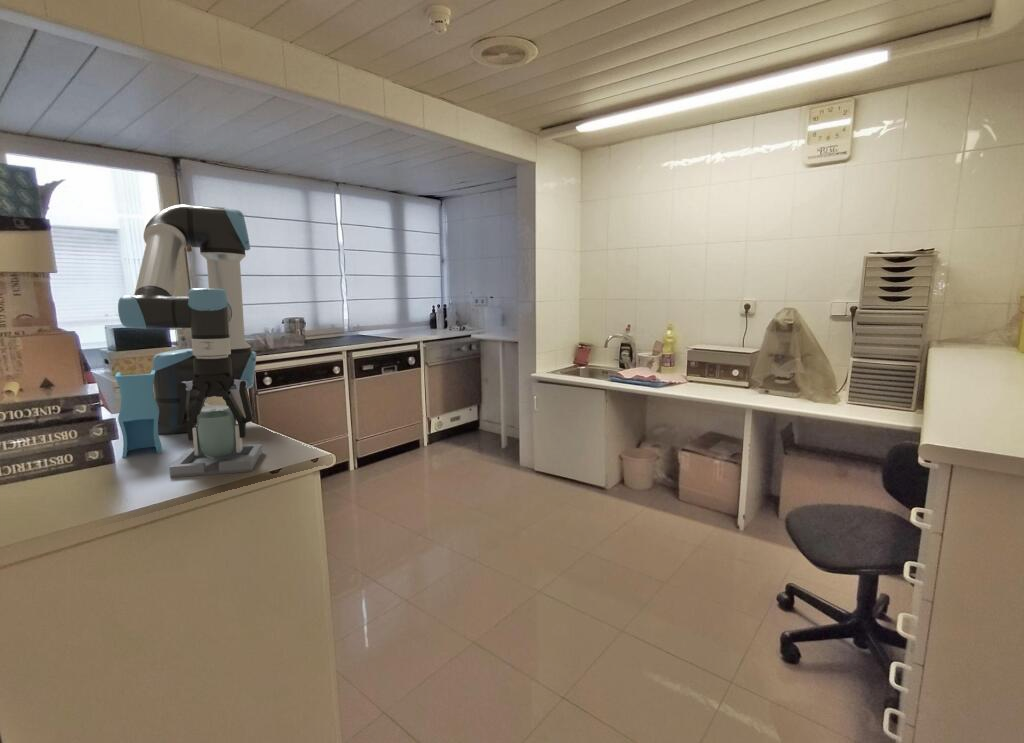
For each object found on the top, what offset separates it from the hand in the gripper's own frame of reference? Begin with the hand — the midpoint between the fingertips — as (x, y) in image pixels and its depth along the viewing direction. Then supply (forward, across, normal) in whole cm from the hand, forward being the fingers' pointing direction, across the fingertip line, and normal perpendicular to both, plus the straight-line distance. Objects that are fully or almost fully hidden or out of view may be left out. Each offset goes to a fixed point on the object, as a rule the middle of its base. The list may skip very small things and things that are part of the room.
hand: (219, 452), depth 117 cm
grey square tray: (+3, 0, 0) cm, 3 cm away
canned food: (+3, -4, +13) cm, 14 cm away
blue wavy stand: (+3, -21, +16) cm, 27 cm away
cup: (+1, 0, 0) cm, 1 cm away
